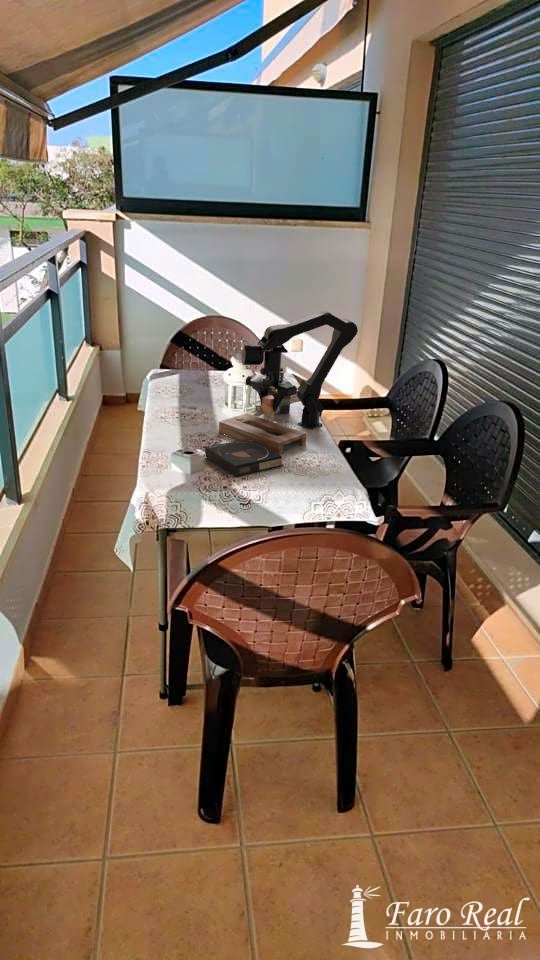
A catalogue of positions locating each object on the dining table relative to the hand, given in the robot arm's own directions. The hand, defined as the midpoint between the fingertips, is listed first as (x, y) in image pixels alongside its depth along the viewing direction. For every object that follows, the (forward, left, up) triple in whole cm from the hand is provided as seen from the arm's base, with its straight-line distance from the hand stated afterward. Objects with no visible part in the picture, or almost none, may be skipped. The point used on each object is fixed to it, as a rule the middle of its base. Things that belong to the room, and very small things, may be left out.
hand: (269, 409), depth 232 cm
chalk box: (-15, -10, -6) cm, 19 cm away
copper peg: (0, 0, -6) cm, 6 cm away
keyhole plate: (+12, +7, -6) cm, 15 cm away
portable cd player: (+32, +17, -7) cm, 36 cm away
